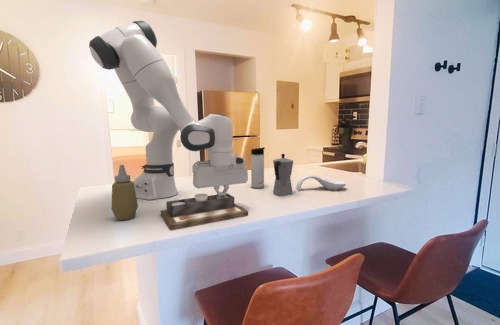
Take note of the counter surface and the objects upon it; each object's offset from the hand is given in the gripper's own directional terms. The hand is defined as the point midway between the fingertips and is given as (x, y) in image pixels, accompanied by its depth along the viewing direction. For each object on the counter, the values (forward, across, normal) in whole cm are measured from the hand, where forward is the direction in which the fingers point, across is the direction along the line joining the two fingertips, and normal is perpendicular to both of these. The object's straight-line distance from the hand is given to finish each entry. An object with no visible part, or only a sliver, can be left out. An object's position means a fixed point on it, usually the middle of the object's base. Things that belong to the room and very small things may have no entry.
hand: (221, 197), depth 97 cm
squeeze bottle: (+5, -32, +8) cm, 33 cm away
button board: (+5, -8, -2) cm, 9 cm away
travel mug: (+5, +29, +24) cm, 38 cm away
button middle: (+1, -8, 0) cm, 8 cm away
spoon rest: (+5, +54, +6) cm, 54 cm away
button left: (+3, -16, 0) cm, 16 cm away
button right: (+3, 0, 0) cm, 3 cm away
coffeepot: (+5, +32, +8) cm, 34 cm away
